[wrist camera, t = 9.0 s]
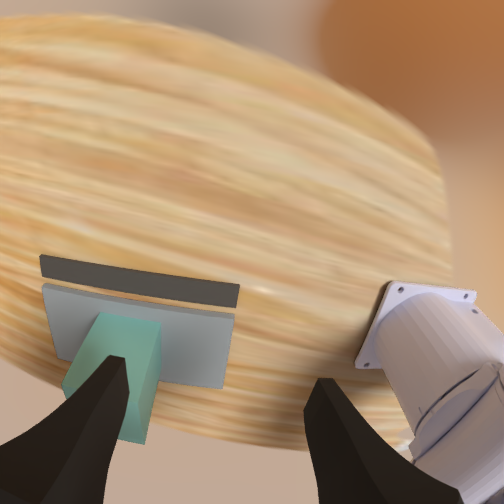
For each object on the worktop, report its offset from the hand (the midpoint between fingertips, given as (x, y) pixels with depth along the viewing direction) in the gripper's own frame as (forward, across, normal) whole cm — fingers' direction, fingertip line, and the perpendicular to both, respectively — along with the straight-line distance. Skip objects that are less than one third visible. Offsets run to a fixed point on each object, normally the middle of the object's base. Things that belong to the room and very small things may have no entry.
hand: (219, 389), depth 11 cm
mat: (+9, +6, +6) cm, 13 cm away
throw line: (+9, +6, +2) cm, 11 cm away
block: (+9, +6, +6) cm, 12 cm away
